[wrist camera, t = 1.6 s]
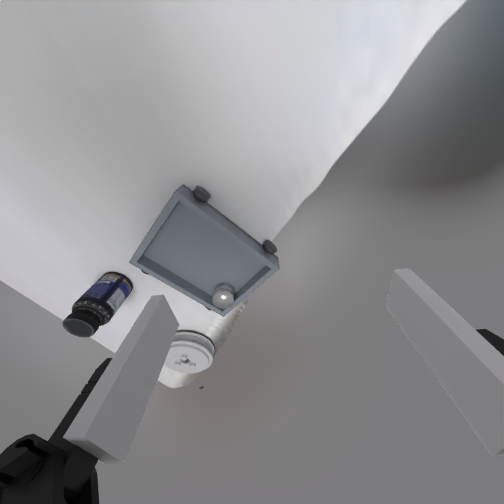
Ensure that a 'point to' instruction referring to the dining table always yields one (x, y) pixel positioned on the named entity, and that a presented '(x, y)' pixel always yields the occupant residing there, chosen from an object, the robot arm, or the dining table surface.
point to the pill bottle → (98, 304)
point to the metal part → (223, 295)
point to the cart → (203, 251)
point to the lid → (189, 353)
